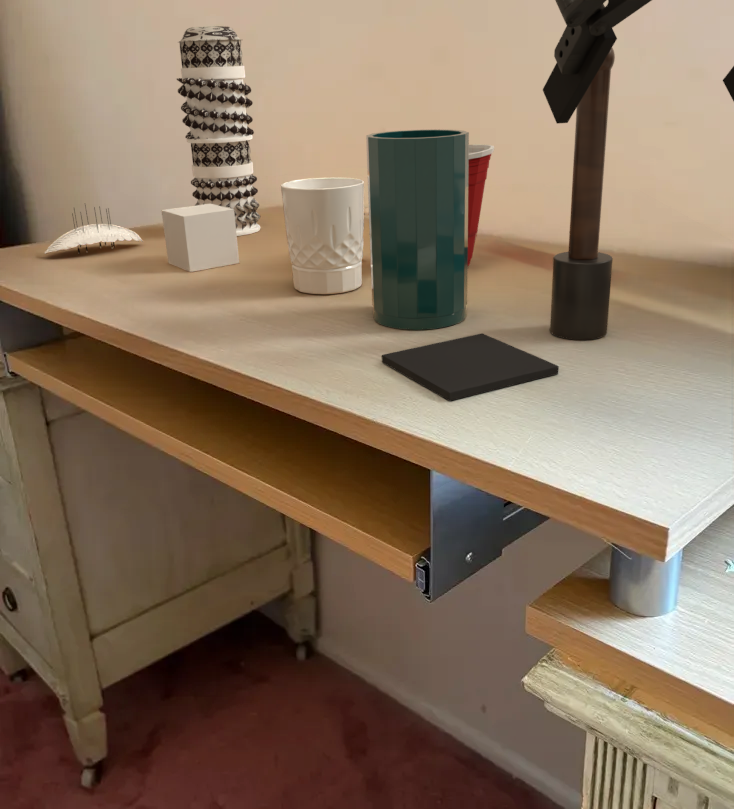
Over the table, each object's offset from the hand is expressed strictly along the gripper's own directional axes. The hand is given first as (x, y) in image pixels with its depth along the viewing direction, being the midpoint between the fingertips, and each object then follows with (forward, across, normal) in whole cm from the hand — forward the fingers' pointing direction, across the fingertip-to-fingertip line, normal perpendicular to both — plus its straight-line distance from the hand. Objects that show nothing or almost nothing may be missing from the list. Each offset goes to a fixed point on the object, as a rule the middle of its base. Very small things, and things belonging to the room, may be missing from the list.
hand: (647, 101), depth 53 cm
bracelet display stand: (+58, -18, +33) cm, 69 cm away
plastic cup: (+36, 0, +11) cm, 37 cm away
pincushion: (+54, -35, +30) cm, 71 cm away
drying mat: (+14, -11, -10) cm, 21 cm away
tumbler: (+24, -10, -1) cm, 26 cm away
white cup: (+33, -14, +8) cm, 37 cm away
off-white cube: (+45, -24, +20) cm, 55 cm away
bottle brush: (+17, 0, -8) cm, 19 cm away
